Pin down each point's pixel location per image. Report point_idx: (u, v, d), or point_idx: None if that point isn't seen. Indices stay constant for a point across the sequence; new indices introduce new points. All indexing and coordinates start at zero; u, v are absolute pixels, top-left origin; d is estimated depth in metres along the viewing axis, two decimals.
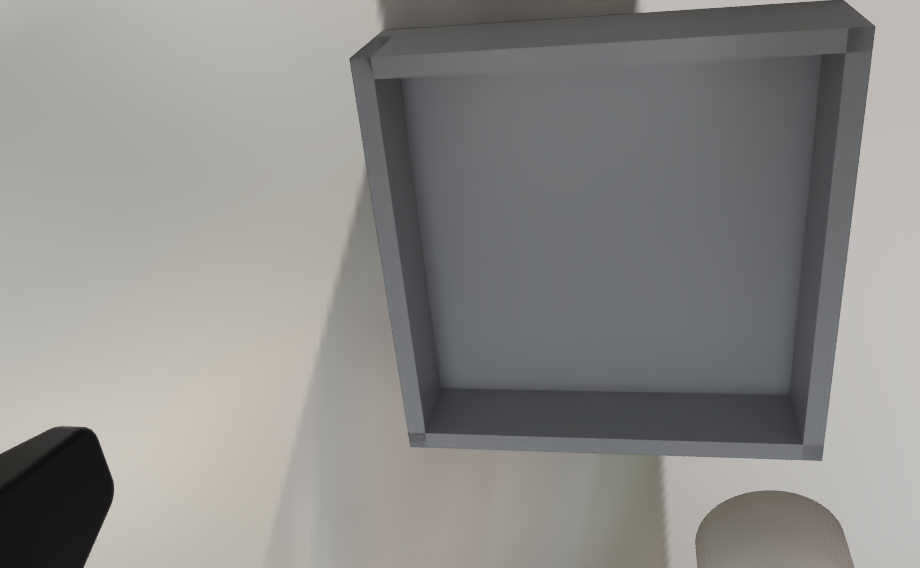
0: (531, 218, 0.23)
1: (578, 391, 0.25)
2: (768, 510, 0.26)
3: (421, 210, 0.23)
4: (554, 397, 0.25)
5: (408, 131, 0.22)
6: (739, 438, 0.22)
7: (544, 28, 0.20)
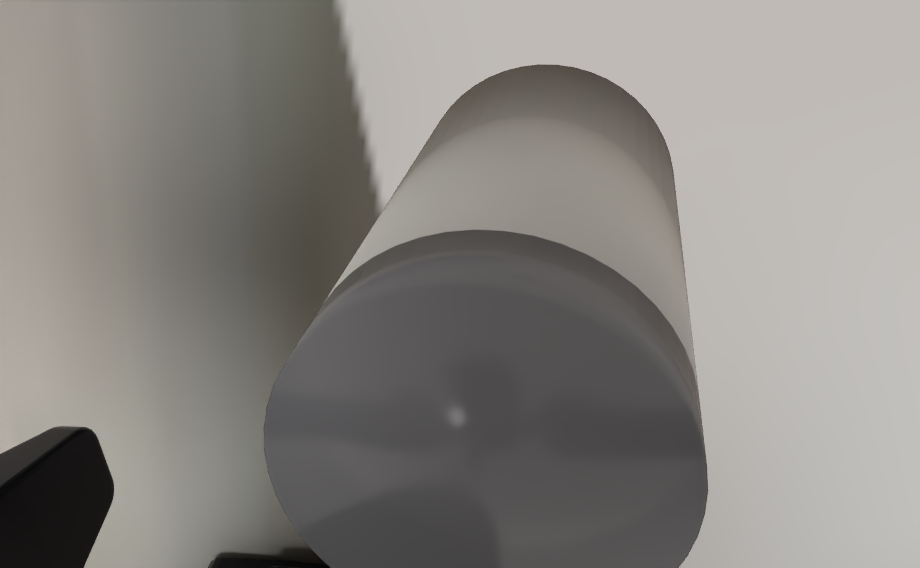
0: None
1: None
2: (515, 80, 0.14)
3: None
4: None
5: None
6: None
7: None
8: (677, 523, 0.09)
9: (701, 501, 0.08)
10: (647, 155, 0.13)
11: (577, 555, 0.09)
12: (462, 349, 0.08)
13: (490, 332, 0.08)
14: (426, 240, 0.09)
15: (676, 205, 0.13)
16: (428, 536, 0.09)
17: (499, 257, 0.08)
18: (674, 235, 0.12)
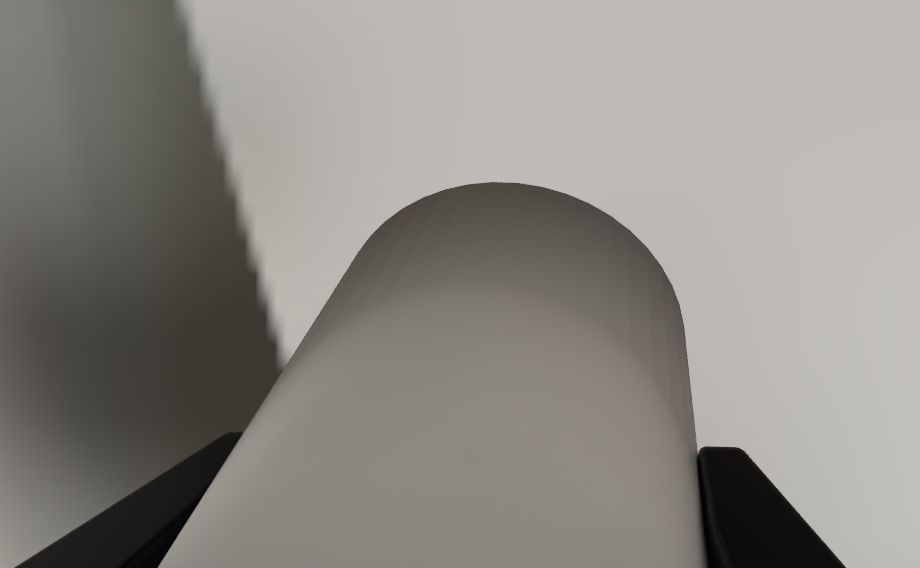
0: None
1: None
2: (455, 213, 0.10)
3: None
4: None
5: None
6: None
7: None
8: None
9: None
10: (648, 347, 0.08)
11: None
12: None
13: None
14: None
15: (691, 406, 0.09)
16: None
17: None
18: (693, 507, 0.07)
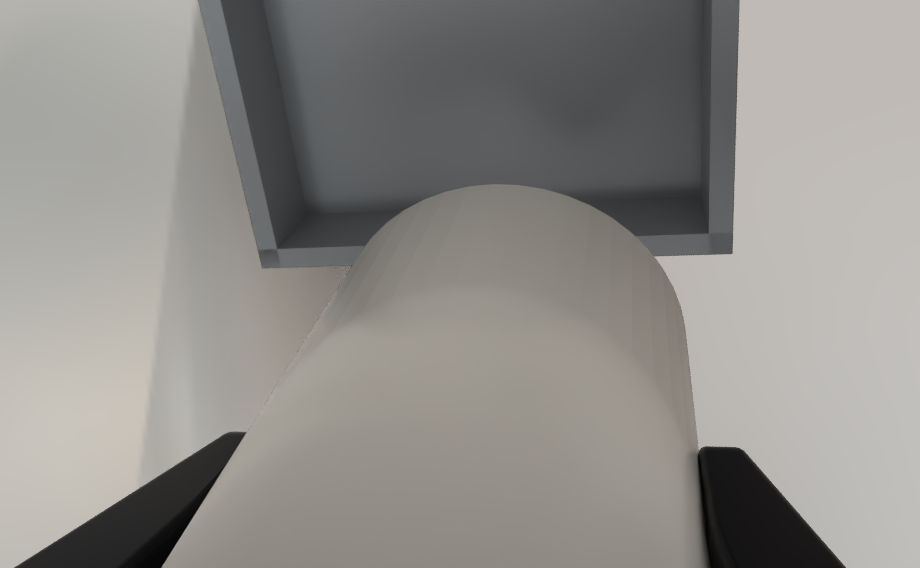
0: None
1: None
2: (456, 216, 0.10)
3: None
4: None
5: None
6: (636, 233, 0.19)
7: None
8: None
9: None
10: (650, 350, 0.08)
11: None
12: None
13: None
14: None
15: (693, 409, 0.09)
16: None
17: None
18: (694, 510, 0.07)
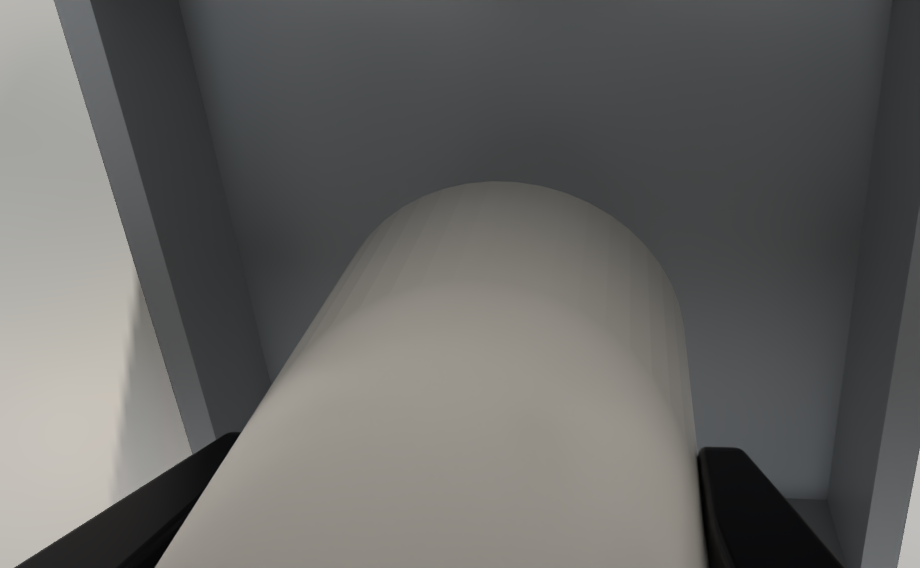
0: None
1: None
2: (454, 213, 0.09)
3: (234, 206, 0.14)
4: None
5: (199, 75, 0.13)
6: None
7: None
8: None
9: None
10: (648, 347, 0.08)
11: None
12: None
13: None
14: None
15: (691, 406, 0.09)
16: None
17: None
18: (692, 508, 0.07)
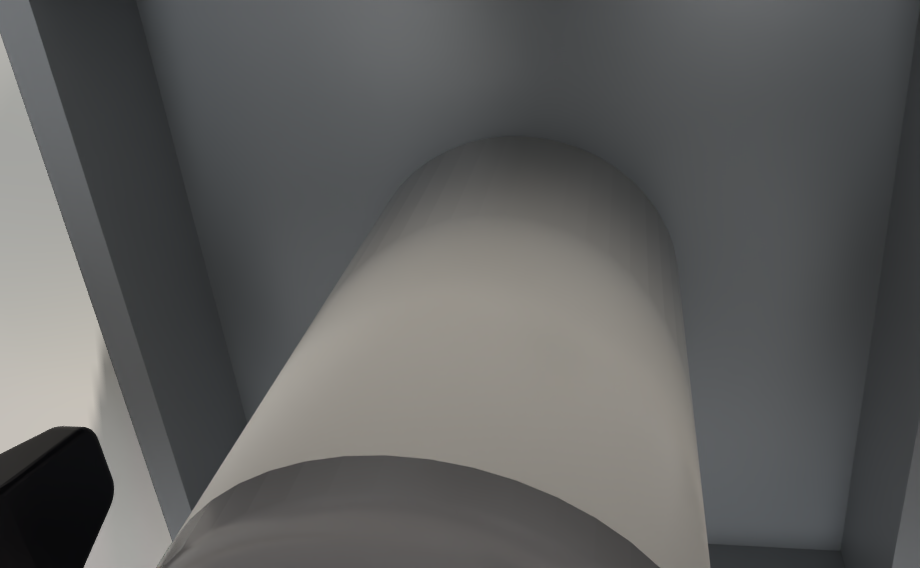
0: None
1: None
2: (477, 161, 0.11)
3: (205, 238, 0.13)
4: None
5: (165, 99, 0.12)
6: None
7: None
8: None
9: None
10: (645, 268, 0.10)
11: None
12: None
13: None
14: (311, 470, 0.06)
15: (683, 324, 0.10)
16: None
17: (414, 522, 0.05)
18: (682, 391, 0.09)
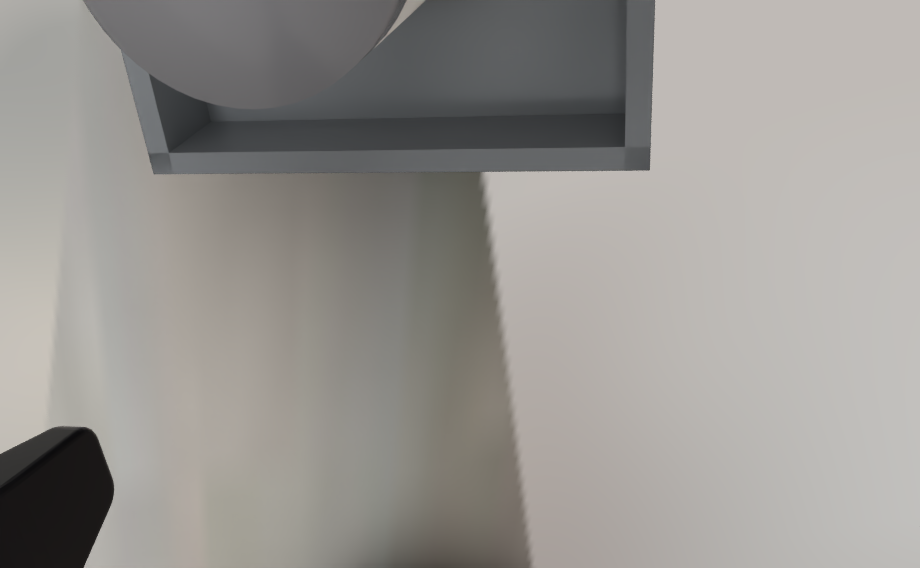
0: None
1: (373, 119, 0.20)
2: None
3: None
4: (341, 123, 0.20)
5: None
6: (549, 145, 0.18)
7: None
8: None
9: None
10: None
11: (309, 7, 0.11)
12: None
13: None
14: None
15: None
16: (191, 0, 0.11)
17: None
18: None
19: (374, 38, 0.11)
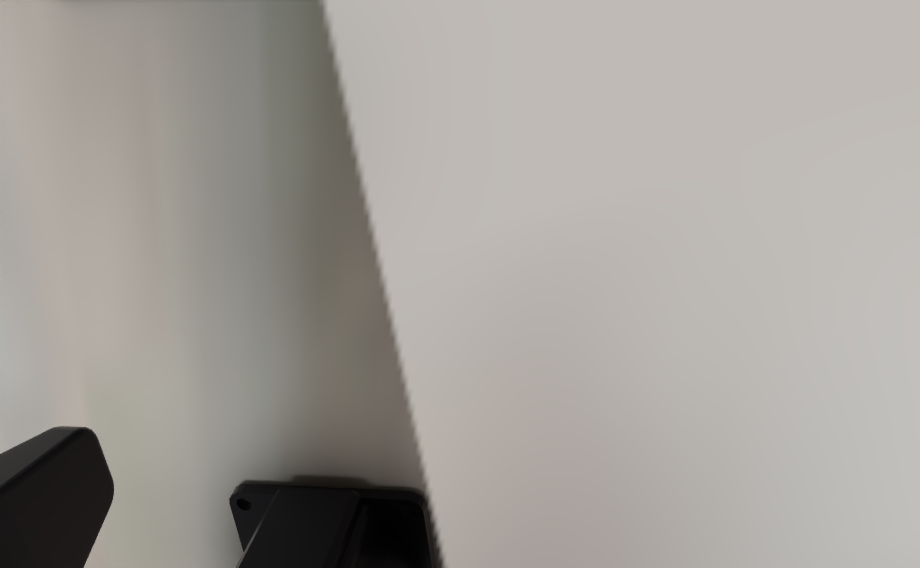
0: None
1: None
2: None
3: None
4: None
5: None
6: None
7: None
8: None
9: None
10: None
11: None
12: None
13: None
14: None
15: None
16: None
17: None
18: None
19: None
